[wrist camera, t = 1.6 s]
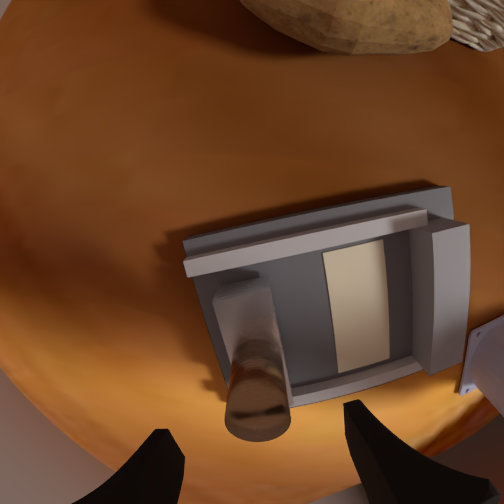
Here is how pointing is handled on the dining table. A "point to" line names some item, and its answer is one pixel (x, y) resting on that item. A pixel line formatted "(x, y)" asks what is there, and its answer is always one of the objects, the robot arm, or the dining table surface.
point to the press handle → (253, 361)
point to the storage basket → (478, 23)
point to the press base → (349, 288)
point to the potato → (360, 24)
